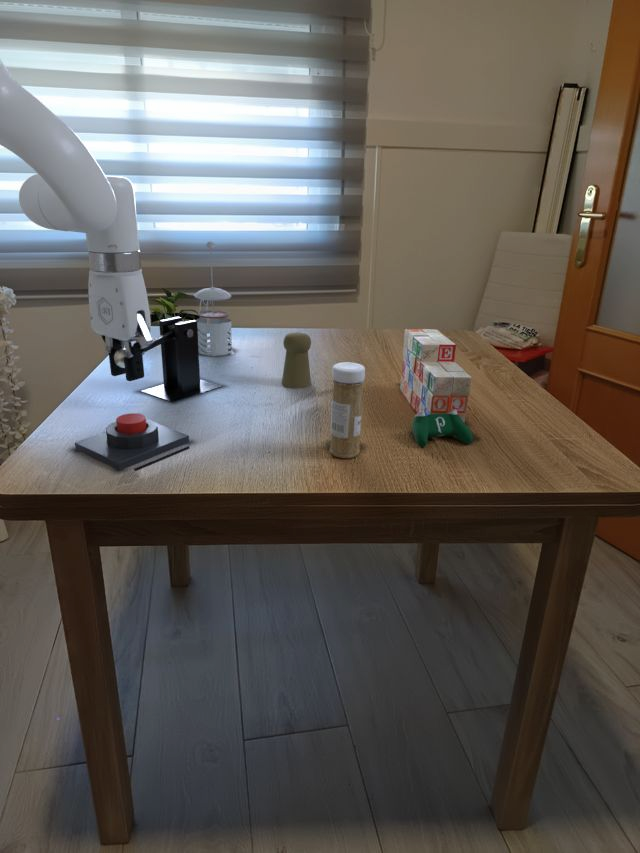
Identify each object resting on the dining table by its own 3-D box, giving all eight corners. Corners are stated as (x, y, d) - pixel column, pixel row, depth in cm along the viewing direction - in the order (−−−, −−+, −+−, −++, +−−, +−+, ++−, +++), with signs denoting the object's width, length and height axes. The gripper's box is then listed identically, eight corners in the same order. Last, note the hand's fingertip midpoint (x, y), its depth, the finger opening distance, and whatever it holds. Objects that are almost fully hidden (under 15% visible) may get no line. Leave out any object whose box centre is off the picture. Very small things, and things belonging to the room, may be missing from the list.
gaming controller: (466, 449, 92) (458, 415, 94) (476, 441, 89) (467, 405, 91) (412, 453, 90) (405, 418, 92) (420, 444, 87) (412, 408, 89)
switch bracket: (173, 408, 99) (168, 330, 94) (140, 397, 104) (133, 321, 99) (223, 391, 108) (220, 319, 103) (190, 381, 113) (186, 312, 108)
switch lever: (125, 372, 93) (119, 354, 91) (113, 368, 95) (107, 351, 93) (192, 337, 103) (188, 320, 101) (180, 334, 104) (176, 318, 103)
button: (129, 437, 79) (127, 426, 78) (111, 430, 81) (109, 418, 80) (152, 429, 82) (151, 417, 81) (134, 422, 84) (133, 411, 83)
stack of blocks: (464, 431, 95) (474, 358, 90) (427, 431, 94) (435, 358, 89) (430, 389, 114) (437, 328, 110) (399, 389, 114) (404, 327, 109)
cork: (300, 396, 108) (302, 338, 103) (274, 390, 110) (274, 333, 106) (317, 388, 112) (319, 332, 108) (292, 382, 115) (293, 328, 111)
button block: (120, 478, 76) (117, 450, 74) (76, 456, 81) (72, 430, 79) (189, 448, 85) (188, 423, 83) (146, 431, 90) (144, 407, 88)
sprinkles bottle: (365, 456, 84) (371, 368, 79) (338, 461, 82) (343, 372, 77) (349, 444, 88) (354, 359, 83) (323, 449, 86) (326, 363, 81)
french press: (201, 363, 125) (195, 243, 116) (184, 350, 134) (178, 238, 125) (243, 358, 130) (241, 243, 120) (224, 346, 139) (221, 238, 129)
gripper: (62, 259, 90) (78, 371, 97) (128, 271, 81) (140, 393, 88) (104, 256, 96) (116, 362, 103) (170, 266, 87) (178, 381, 94)
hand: (127, 375), depth 95 cm, fingers closed on switch lever, 3 cm apart
